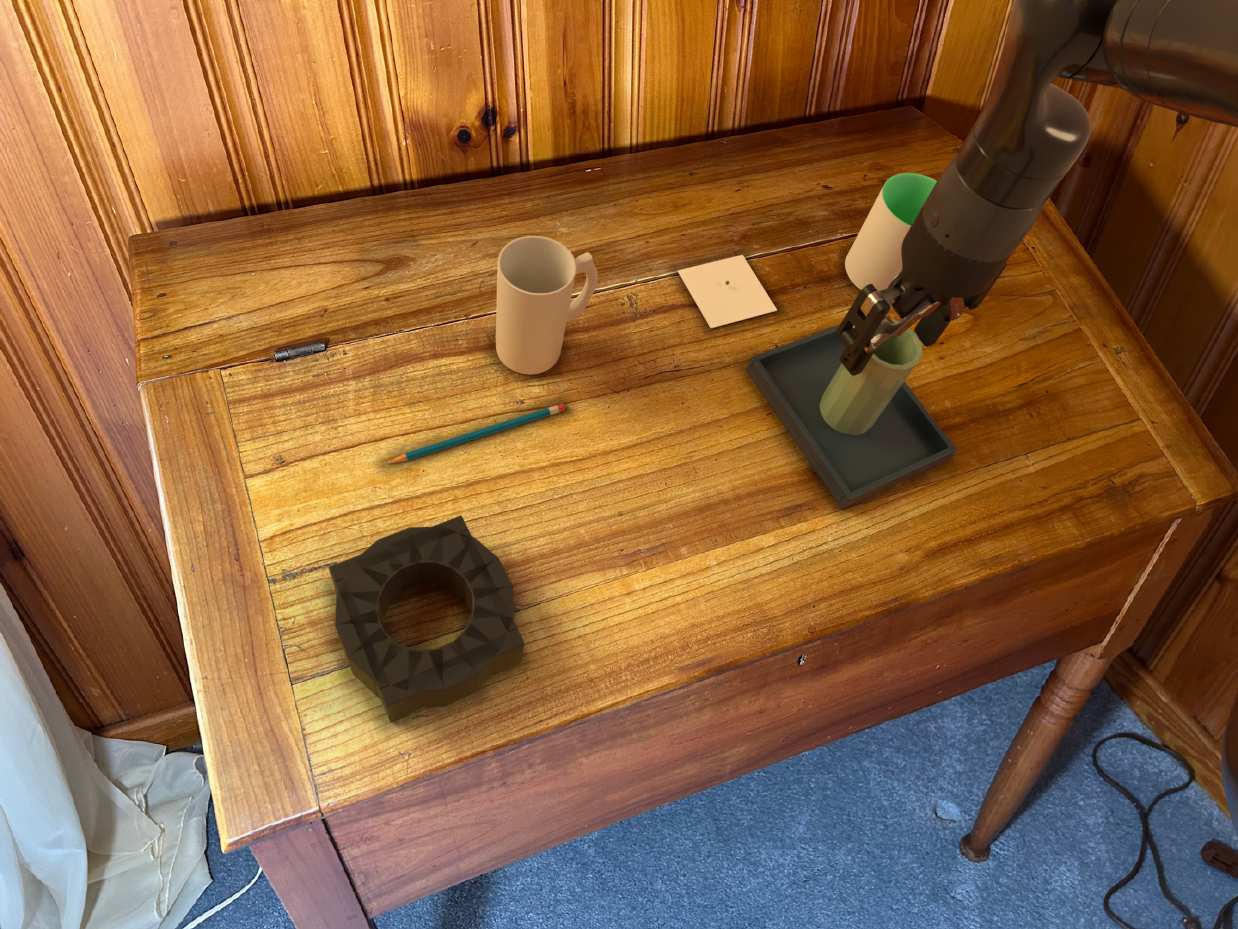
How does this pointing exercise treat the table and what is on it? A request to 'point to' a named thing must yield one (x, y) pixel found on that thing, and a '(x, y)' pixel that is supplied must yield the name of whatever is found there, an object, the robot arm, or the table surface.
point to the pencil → (479, 433)
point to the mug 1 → (537, 301)
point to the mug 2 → (887, 231)
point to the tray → (840, 460)
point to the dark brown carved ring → (403, 565)
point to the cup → (870, 384)
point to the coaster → (726, 291)
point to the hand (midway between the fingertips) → (886, 352)
